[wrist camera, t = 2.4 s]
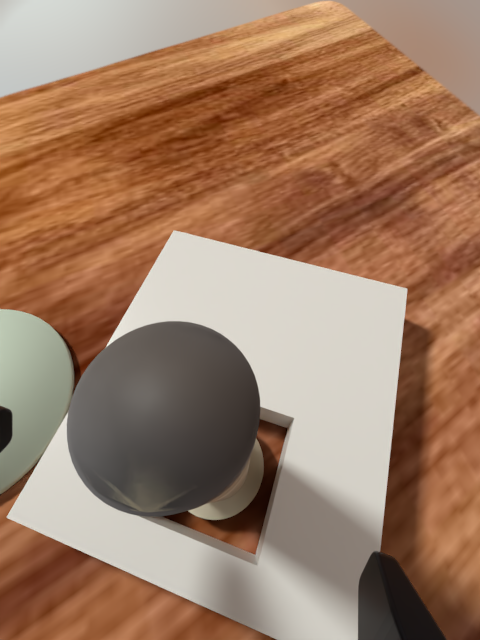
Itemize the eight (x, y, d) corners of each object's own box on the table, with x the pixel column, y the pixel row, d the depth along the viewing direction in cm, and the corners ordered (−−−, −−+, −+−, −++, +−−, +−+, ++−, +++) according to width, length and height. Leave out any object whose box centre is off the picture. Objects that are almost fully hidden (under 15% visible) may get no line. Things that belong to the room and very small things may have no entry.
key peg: (246, 534, 14) (254, 637, 4) (157, 498, 15) (-42, 502, 5) (273, 436, 16) (326, 328, 6) (193, 408, 17) (112, 268, 7)
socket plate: (345, 647, 13) (366, 680, 10) (41, 514, 15) (6, 517, 13) (389, 311, 20) (407, 288, 18) (180, 256, 22) (173, 230, 20)
